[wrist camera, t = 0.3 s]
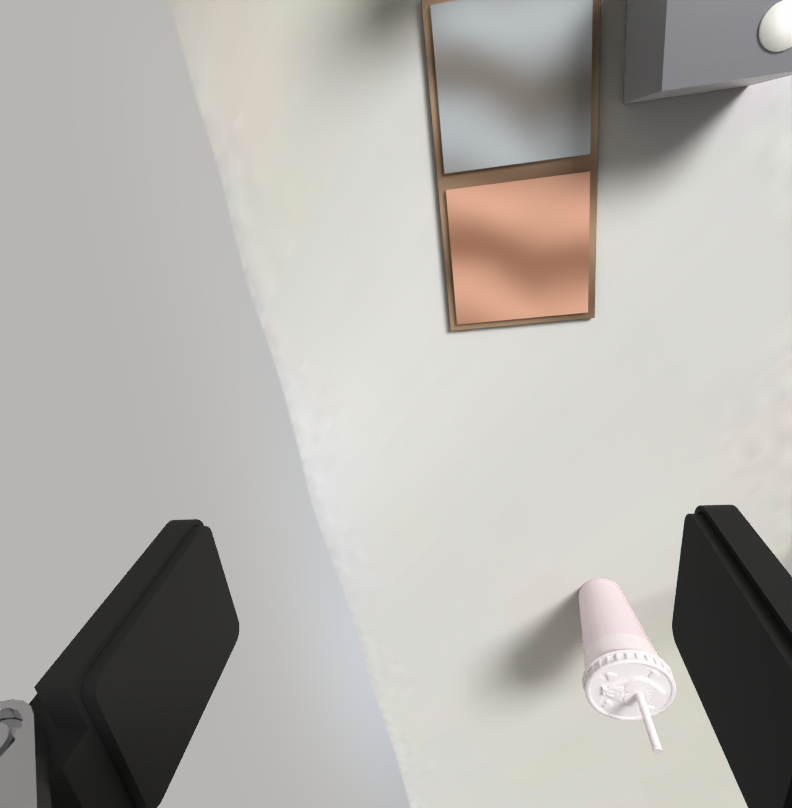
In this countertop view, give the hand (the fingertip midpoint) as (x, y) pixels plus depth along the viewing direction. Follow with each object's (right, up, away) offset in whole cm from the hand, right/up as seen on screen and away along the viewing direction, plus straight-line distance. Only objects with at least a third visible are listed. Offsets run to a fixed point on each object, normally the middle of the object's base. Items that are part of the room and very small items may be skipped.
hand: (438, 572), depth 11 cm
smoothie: (+17, -13, +37) cm, 43 cm away
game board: (+7, +18, +24) cm, 31 cm away
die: (+16, +25, +20) cm, 36 cm away
